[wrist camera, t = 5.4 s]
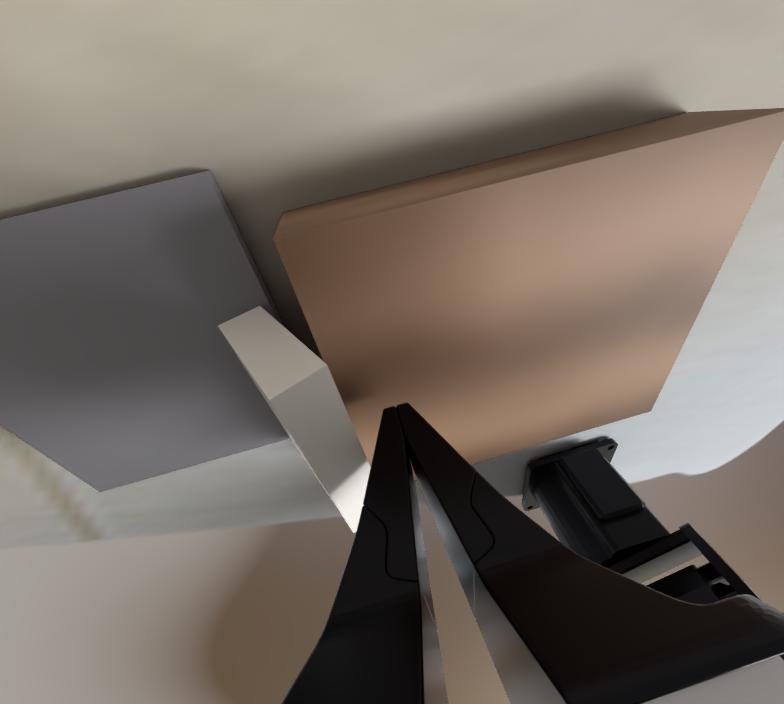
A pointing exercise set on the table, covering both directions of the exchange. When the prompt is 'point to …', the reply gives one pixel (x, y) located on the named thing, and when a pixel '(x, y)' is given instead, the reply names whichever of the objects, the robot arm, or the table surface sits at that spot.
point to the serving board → (527, 279)
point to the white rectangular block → (304, 406)
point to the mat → (130, 332)
